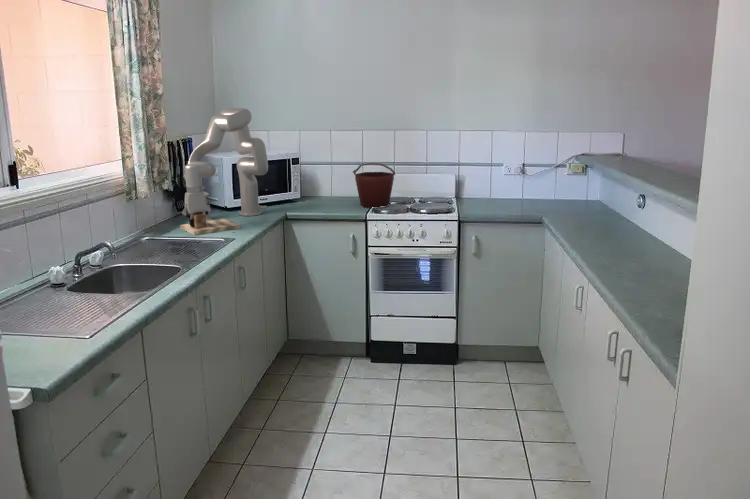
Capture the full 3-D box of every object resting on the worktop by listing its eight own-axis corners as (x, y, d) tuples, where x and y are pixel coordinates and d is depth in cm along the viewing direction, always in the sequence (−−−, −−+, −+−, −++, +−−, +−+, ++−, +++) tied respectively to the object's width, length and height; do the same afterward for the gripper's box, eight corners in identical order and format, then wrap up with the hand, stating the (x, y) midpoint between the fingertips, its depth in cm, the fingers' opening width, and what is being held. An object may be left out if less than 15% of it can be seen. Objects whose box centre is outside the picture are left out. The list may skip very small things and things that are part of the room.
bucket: (348, 207, 364) (347, 164, 357) (363, 201, 384) (363, 160, 377) (387, 210, 355) (387, 166, 348) (400, 203, 374) (401, 161, 368)
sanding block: (199, 224, 314) (198, 211, 312) (206, 227, 307) (205, 214, 305) (189, 225, 311) (188, 213, 309) (196, 228, 304) (195, 215, 302)
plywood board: (225, 222, 327) (224, 218, 327) (240, 228, 313) (240, 224, 313) (180, 228, 313) (180, 224, 313) (194, 235, 299) (193, 231, 299)
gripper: (208, 186, 312) (211, 221, 317) (174, 190, 302) (178, 227, 307) (214, 188, 306) (217, 224, 311) (180, 192, 296) (184, 229, 301)
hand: (197, 225), depth 309 cm, fingers open, 5 cm apart
